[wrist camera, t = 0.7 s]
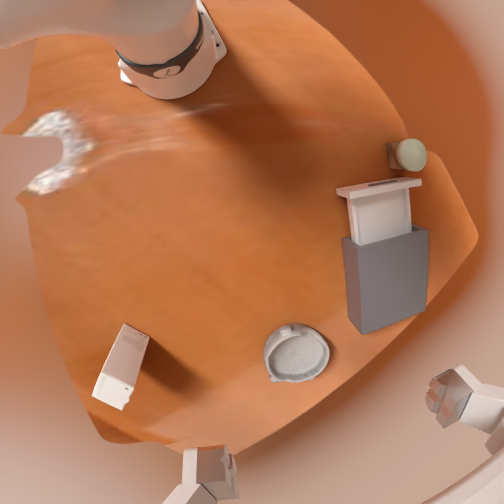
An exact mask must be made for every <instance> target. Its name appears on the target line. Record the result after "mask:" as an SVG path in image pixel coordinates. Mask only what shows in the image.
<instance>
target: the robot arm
mask: <svg viewBox="0 0 504 504" xmlns="http://www.w3.org/2000/svg"><path fill="white" fill-rule="evenodd" d="M55 35H77V36H87V37H94V38H99V39H102V40H104V41H106V42H107V43H109V44H110V45H111V46H112V47H114V48H115V50H116V52H117V54H118V56H119V58H120V62H119V63H118V65H119V67H120V69H121V80H122V81H123V82H124V83H126V84H130V85H134V86H137V87H138V88H139V89H141V90H142V91H143V92H144V93H146V94H147V95H149V96H152V97H155V98H159V99H175V98H180V97H183V96H186V95H188V94H190V93H192V92H194V91H195V90H197V89H198V88H199V87H200V86H201V85H202V84H203V83H204V82H205V81H206V80H207V79H208V77H209V76H210V74H211V72H212V70H213V68H214V66H215V64H216V63H217V62H218V61H220V60H221V59H222V58H223V57H224V56H225V55H226V53H227V50H226V47H225V45H224V43H223V41H222V39H221V37H220V35H219V33H218V31H217V30H216V28H215V26H214V24H213V22H212V20H211V18H210V17H209V15H208V13H207V11H206V9H205V8H204V6H203V4H202V2H201V1H200V0H0V48H9V47H11V46H14V45H17V44H19V43H22V42H25V41H28V40H31V39H36V38H41V37H46V36H55ZM216 45H219V47H216ZM429 386H430V387H431V388H430V389H429V390H428V392H427V394H426V403H427V406H428V408H429V409H430V411H431V412H434V413H437V416H436V419H437V420H438V422H439V423H440V424H441V426H442V427H443V428H446V427H448V426H449V425H451V424H452V423H454V422H456V421H458V420H459V421H461V422H463V423H465V424H467V425H470V426H472V427H474V428H477V429H479V430H482V431H484V432H486V433H488V434H491V436H490V437H489V439H488V440H487V442H486V444H485V446H486V448H487V449H488V450H489V452H490V453H491V455H492V456H491V457H490V458H489V459H488V460H486V461H485V462H484V463H483V464H481V465H480V466H479V467H477V468H476V469H475V470H473V471H472V472H470V473H469V474H468V475H467V476H465V477H463V478H462V479H460V480H459V481H457V482H456V483H454V484H453V485H451V486H450V487H448V488H447V489H445V490H443V491H442V492H440V493H438V494H437V495H435V496H433V497H431V498H430V499H428V500H426V501H424V502H422V503H421V504H504V388H501V387H497V386H493V385H489V384H483V385H482V384H481V383H480V382H479V381H478V380H477V379H476V378H475V377H474V376H473V375H472V374H471V373H470V372H469V371H468V370H467V369H466V368H465V367H464V366H463V365H462V364H458V365H456V366H454V367H453V368H451V369H449V370H447V371H445V372H444V373H442V374H440V375H438V376H436V377H435V378H433V379H432V380H431V381H430V384H429ZM236 476H237V469H236V464H235V461H234V458H233V456H232V454H230V453H229V449H228V447H227V445H218V446H209V447H196V448H185V451H184V458H183V476H182V484H178V486H177V487H176V488H175V489H174V491H173V492H172V493H171V494H170V495H169V496H168V498H167V499H166V500H165V501H164V502H163V503H162V504H217V501H218V500H226V499H235V498H239V490H238V484H237V482H236V480H235V479H234V478H235V477H236Z"/></svg>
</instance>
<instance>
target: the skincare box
mask: <svg viewBox="0 0 504 504" xmlns="http://www.w3.org/2000/svg"><path fill="white" fill-rule="evenodd" d="M149 339H150V337H149V336H147V335H145V334H143V333H142V332H140V331H138V330H136V329H134V328H132V327H131V326H129V325H127V324H125V323H124V324H123V326H122V328H121V330H120V332H119V334H118V336H117V338H116V341H115V343H114V345H113V347H112V349H111V351H110V353H109V355H108V357H107V359H106V362H105V364H104V366H103V368H102V371H101V373H100V375H99V378H98V380H97V383H96V385H95V388H94V391H93V394H92V396H93V397H95V398H97V399H99V400H101V401H103V402H105V403H107V404H109V405H111V406H113V407H115V408H117V409H119V410H123V408H124V406H125V405H126V403H127V402H128V401H129V398H130V396H131V394H132V392H133V391H134V388H135V384H136V381H137V377H138V374H139V371H140V367H141V364H142V361H143V357H144V354H145V351H146V348H147V345H148V342H149Z"/></svg>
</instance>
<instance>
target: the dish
mask: <svg viewBox="0 0 504 504" xmlns="http://www.w3.org/2000/svg"><path fill="white" fill-rule="evenodd" d="M263 356H264V362H265V365H266V368H267V370H268V372H269V373H270V376H269V378H270V380H271V381H272V382H275V383H277V382H278V381H280V382H282V381H286V382H291V383H296V382H303V381H306V380H312V379H314V378H315V377H316V376H317V375H318V374H320V373H321V372H322V371H323V369H324V368H325V367H326V365H327V363H328V360H329V357H330V350H329V347H328V344H327V343H326V341H325V339H324V338H323V337H322V336H321V335H320V334H319V333H318V332H317V331H315V330H314V329H312V328H310V327H308V326H306V325H302V324H288V325H284V326H282V327H280V328H278V329H277V330H275V331H274V332H273V333H272V334H271V335H270V336H269V337H268V339H267V341H266V343H265V346H264V351H263Z"/></svg>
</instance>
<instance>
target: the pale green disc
mask: <svg viewBox="0 0 504 504" xmlns="http://www.w3.org/2000/svg"><path fill="white" fill-rule="evenodd" d="M396 155H397V160H398V162H399V164H400V166H401V167H402V168H403V169H405V170H407V171H420V170H422V169H423V168H424V166H425V164H426V161H427V153H426V149H425V147H424V145H423V144H422V143H421V142H420V141H419V140H416V139H405V140H402V141H401V142H400V143H399V145H398V147H397V152H396Z"/></svg>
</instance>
